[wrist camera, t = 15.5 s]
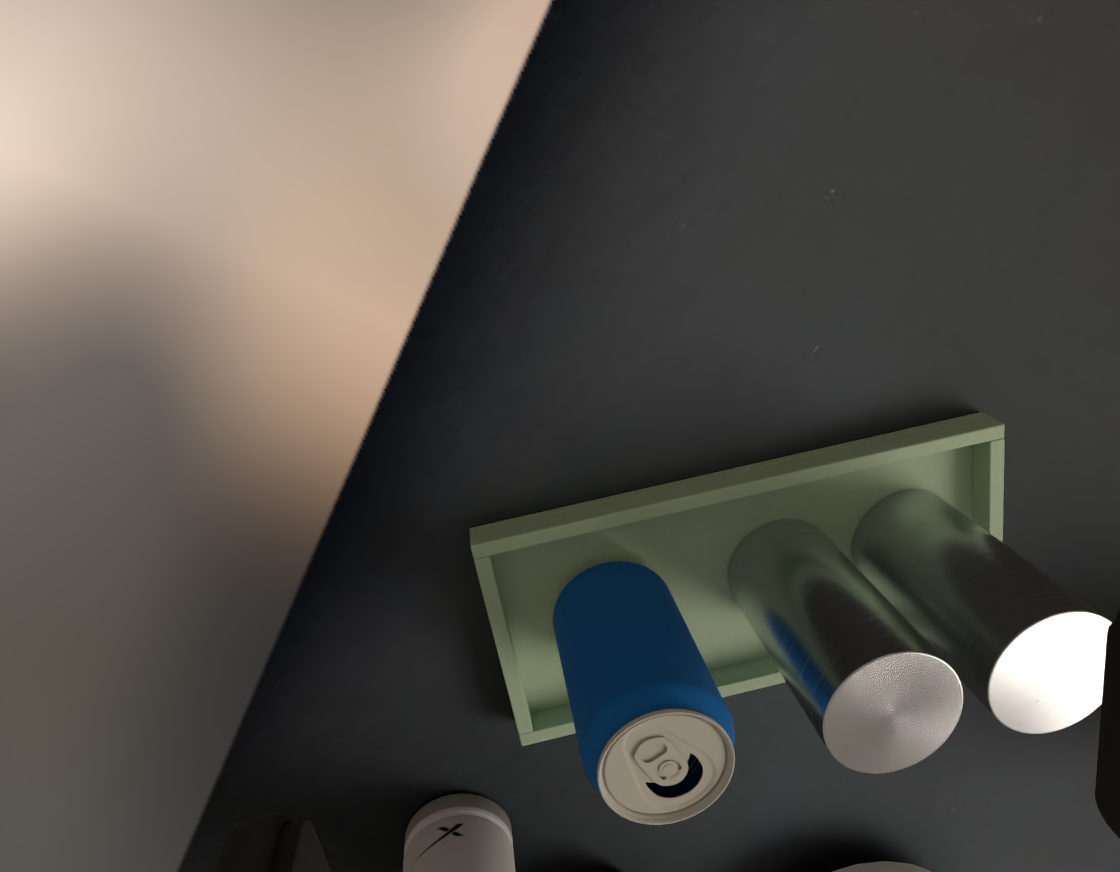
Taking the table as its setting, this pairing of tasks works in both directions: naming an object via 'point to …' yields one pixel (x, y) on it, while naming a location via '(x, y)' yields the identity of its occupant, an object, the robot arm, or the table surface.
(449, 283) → the table surface
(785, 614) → the can
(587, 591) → the beverage can
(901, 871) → the vase
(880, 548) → the can
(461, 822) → the travel mug
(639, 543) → the tray
